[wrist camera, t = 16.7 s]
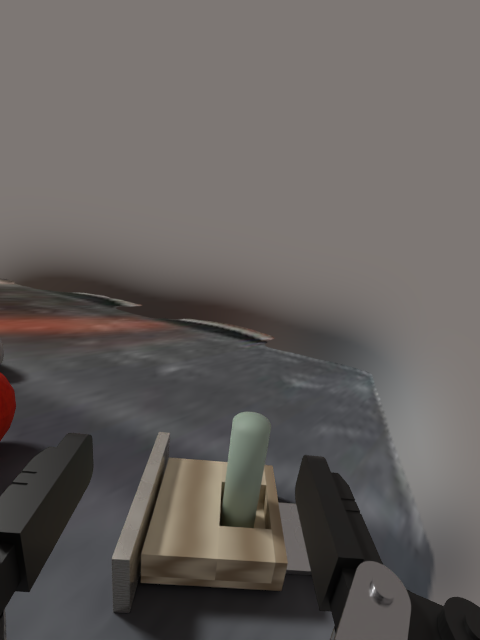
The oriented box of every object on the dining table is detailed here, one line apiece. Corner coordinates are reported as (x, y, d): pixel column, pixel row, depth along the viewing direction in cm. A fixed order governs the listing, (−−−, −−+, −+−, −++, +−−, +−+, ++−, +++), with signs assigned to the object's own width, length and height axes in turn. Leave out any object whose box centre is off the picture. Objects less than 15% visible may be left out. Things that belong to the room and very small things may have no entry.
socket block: (140, 582, 28) (141, 554, 27) (167, 481, 40) (169, 457, 39) (281, 590, 29) (287, 563, 28) (268, 488, 41) (272, 465, 39)
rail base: (113, 612, 27) (111, 558, 25) (157, 472, 42) (159, 432, 40) (373, 625, 28) (393, 576, 26) (324, 484, 43) (334, 446, 41)
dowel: (219, 538, 32) (232, 434, 28) (221, 505, 36) (233, 410, 32) (254, 541, 32) (272, 438, 28) (253, 508, 36) (269, 413, 32)
